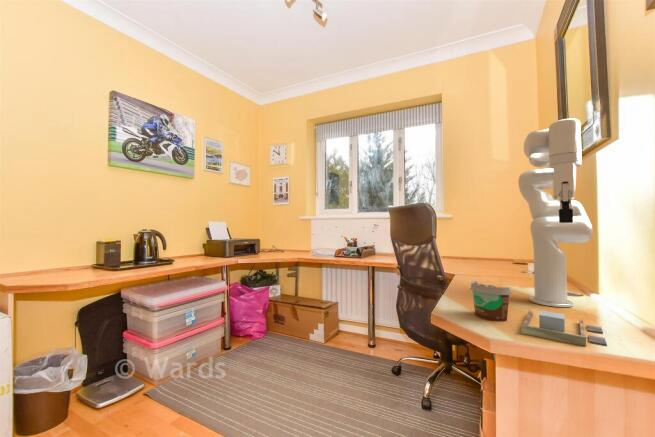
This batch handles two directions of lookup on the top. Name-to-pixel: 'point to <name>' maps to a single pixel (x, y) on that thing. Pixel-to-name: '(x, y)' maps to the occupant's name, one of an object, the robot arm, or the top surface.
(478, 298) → the food container
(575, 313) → the top surface
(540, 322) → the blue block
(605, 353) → the top surface
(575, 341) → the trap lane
